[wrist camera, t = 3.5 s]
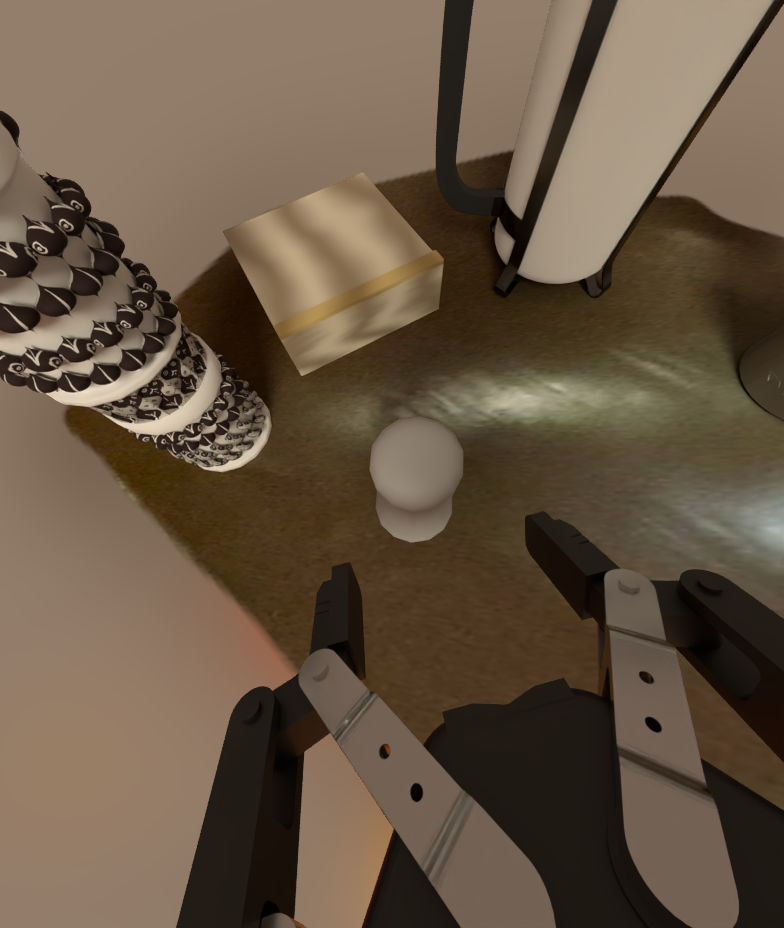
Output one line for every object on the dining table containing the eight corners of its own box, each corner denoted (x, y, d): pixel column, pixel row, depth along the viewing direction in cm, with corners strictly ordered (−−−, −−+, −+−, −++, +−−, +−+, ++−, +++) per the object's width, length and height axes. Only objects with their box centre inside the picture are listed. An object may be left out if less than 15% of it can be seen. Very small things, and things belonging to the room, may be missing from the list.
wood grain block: (369, 223, 36) (362, 167, 31) (438, 309, 31) (443, 259, 26) (248, 276, 35) (220, 226, 29) (301, 376, 30) (279, 337, 25)
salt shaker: (364, 509, 25) (319, 456, 13) (410, 462, 26) (410, 370, 14) (416, 559, 23) (423, 554, 11) (463, 506, 24) (515, 448, 12)
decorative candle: (162, 435, 28) (-1056, -197, 5) (236, 372, 30) (-383, -309, 7) (218, 496, 26) (-1625, -152, 2) (295, 424, 28) (-337, -343, 4)
